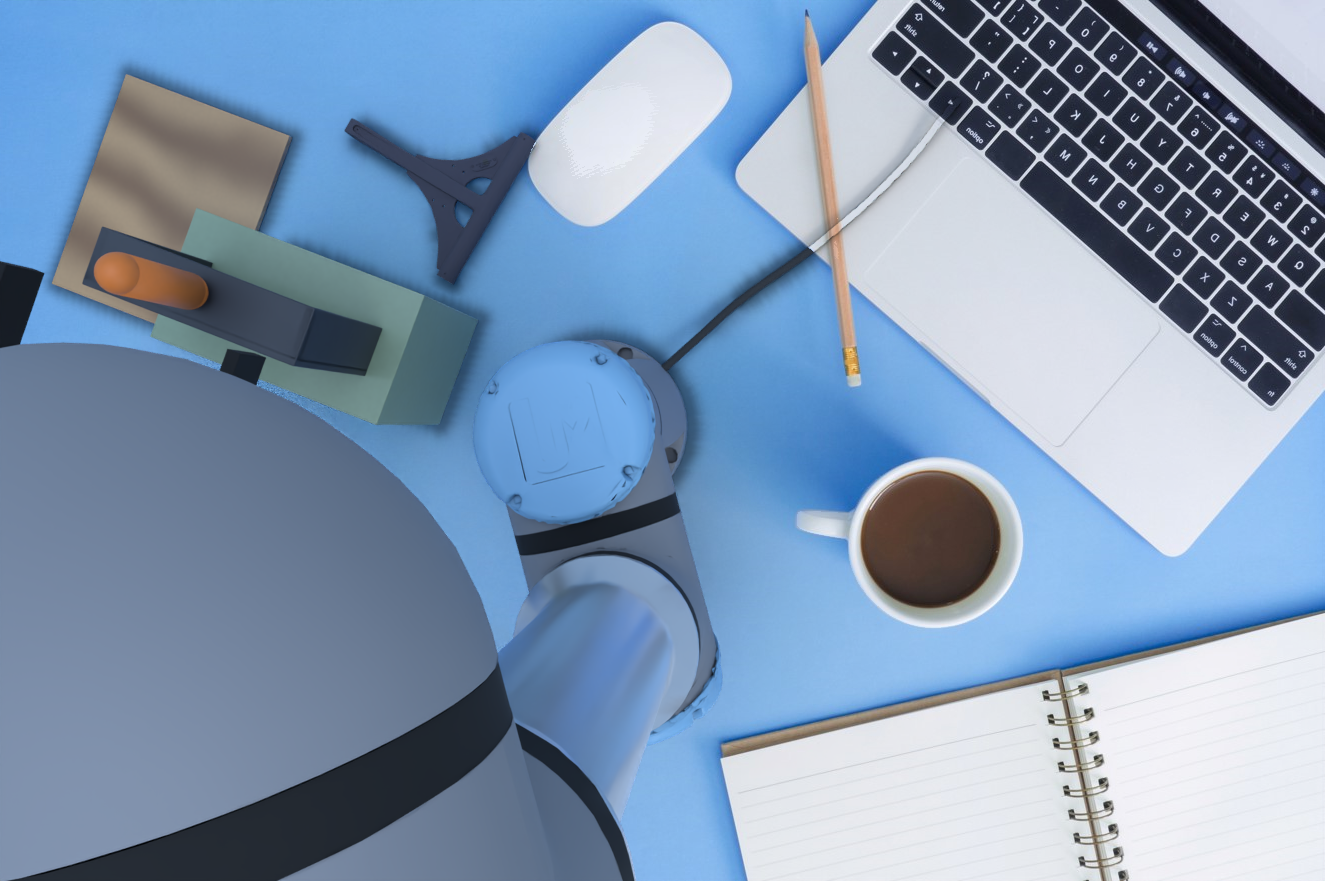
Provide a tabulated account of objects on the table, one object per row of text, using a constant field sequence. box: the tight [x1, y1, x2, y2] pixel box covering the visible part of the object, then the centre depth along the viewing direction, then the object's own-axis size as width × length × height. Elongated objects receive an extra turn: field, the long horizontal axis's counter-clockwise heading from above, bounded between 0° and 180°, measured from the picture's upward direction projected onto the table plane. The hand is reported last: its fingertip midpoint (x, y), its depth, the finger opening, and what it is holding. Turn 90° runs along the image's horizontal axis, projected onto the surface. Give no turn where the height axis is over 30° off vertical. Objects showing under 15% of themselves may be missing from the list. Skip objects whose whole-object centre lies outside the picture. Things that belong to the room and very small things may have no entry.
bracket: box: [344, 117, 537, 285], centre depth 77 cm, size 14×15×3 cm
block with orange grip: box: [82, 227, 382, 376], centre depth 54 cm, size 4×14×19 cm, turn 69°
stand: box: [149, 208, 479, 426], centre depth 71 cm, size 10×18×15 cm, turn 69°
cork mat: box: [51, 73, 293, 325], centre depth 79 cm, size 20×16×1 cm
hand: (133, 308), depth 48 cm, fingers open, 13 cm apart
